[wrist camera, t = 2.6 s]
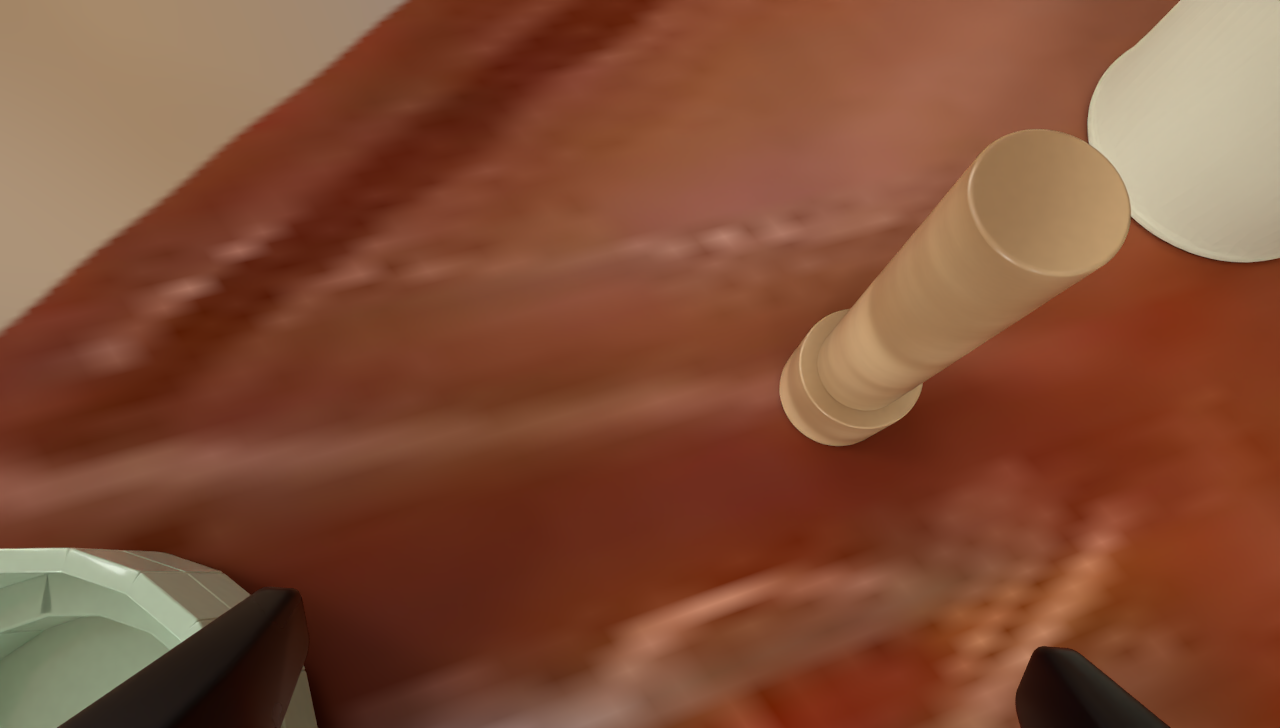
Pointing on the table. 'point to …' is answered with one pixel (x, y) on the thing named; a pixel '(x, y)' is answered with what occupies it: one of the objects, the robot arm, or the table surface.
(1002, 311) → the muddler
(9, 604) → the bowl
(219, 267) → the table surface
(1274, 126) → the can
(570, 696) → the table surface
